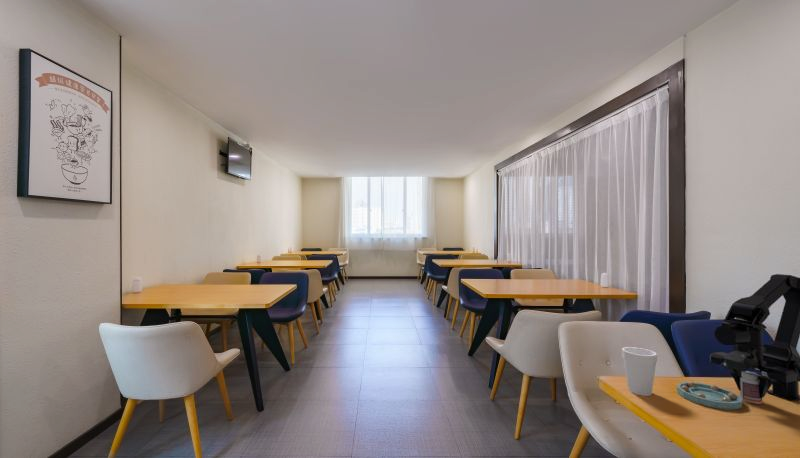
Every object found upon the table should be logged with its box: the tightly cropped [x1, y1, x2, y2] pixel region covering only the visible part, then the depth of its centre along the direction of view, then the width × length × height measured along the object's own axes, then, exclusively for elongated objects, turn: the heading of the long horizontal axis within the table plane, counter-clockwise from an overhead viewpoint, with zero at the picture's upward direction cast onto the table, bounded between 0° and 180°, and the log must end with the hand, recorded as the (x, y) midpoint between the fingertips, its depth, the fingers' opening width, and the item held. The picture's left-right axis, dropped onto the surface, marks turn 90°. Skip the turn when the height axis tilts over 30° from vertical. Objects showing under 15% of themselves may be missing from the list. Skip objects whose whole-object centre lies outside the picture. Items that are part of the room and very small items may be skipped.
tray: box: [676, 381, 743, 411], centre depth 108 cm, size 15×15×3 cm
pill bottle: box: [739, 370, 763, 405], centre depth 107 cm, size 5×5×8 cm
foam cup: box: [621, 346, 658, 397], centre depth 113 cm, size 10×9×13 cm
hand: (751, 394), depth 107 cm, fingers closed on pill bottle, 5 cm apart
